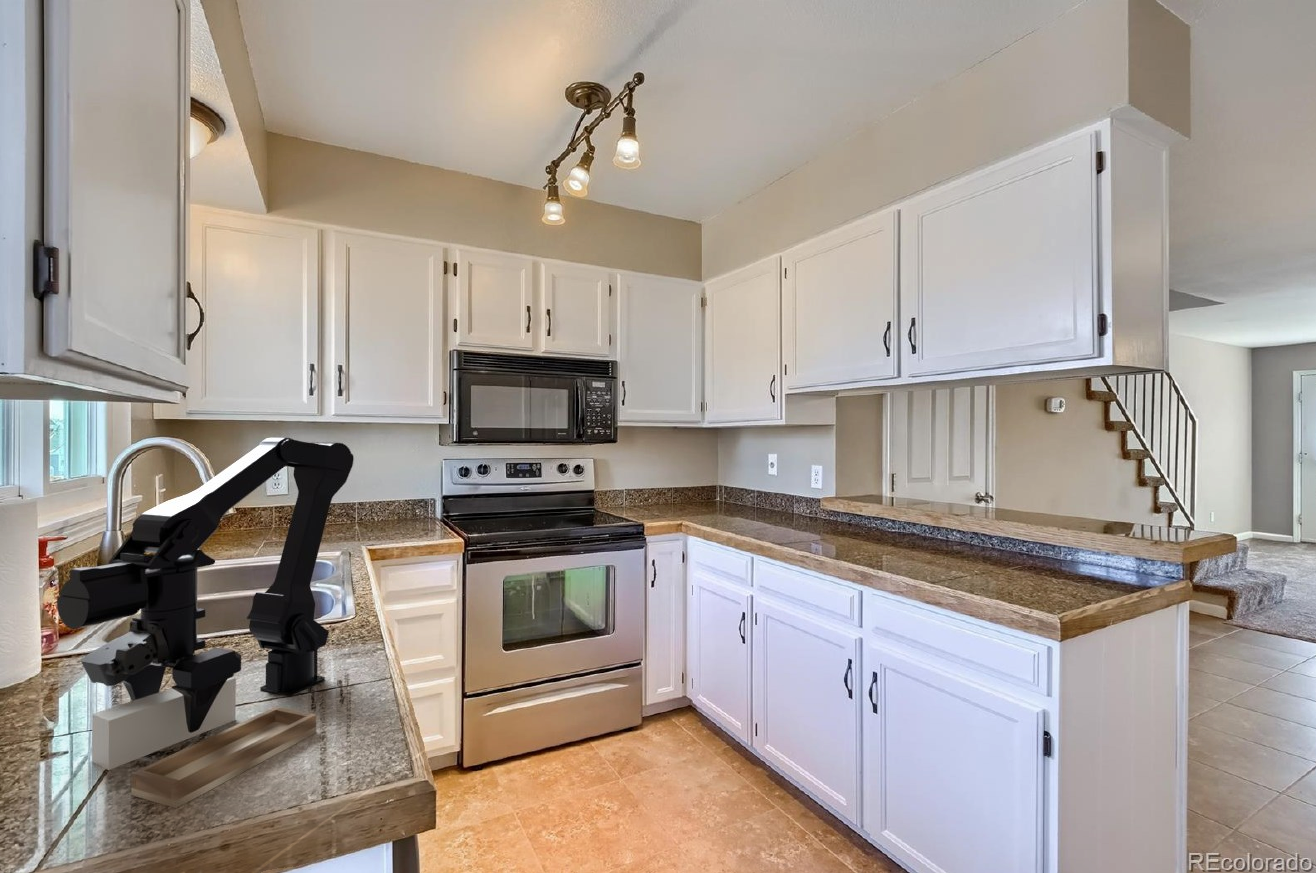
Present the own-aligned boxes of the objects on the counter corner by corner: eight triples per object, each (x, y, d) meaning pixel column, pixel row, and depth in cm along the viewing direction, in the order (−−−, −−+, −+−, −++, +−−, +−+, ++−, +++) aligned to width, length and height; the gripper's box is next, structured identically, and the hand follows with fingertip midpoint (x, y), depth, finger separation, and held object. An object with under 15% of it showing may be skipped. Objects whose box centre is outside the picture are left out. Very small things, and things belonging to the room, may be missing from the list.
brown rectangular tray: (276, 724, 82) (276, 706, 82) (316, 732, 80) (316, 714, 80) (131, 795, 66) (131, 773, 66) (176, 808, 63) (176, 785, 63)
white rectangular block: (218, 715, 85) (219, 673, 85) (235, 721, 83) (235, 677, 83) (92, 763, 72) (92, 713, 72) (108, 771, 71) (108, 720, 71)
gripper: (45, 616, 73) (45, 743, 73) (147, 632, 67) (147, 771, 67) (148, 593, 84) (148, 705, 84) (244, 606, 78) (244, 726, 78)
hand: (169, 725), depth 78 cm, fingers open, 9 cm apart
